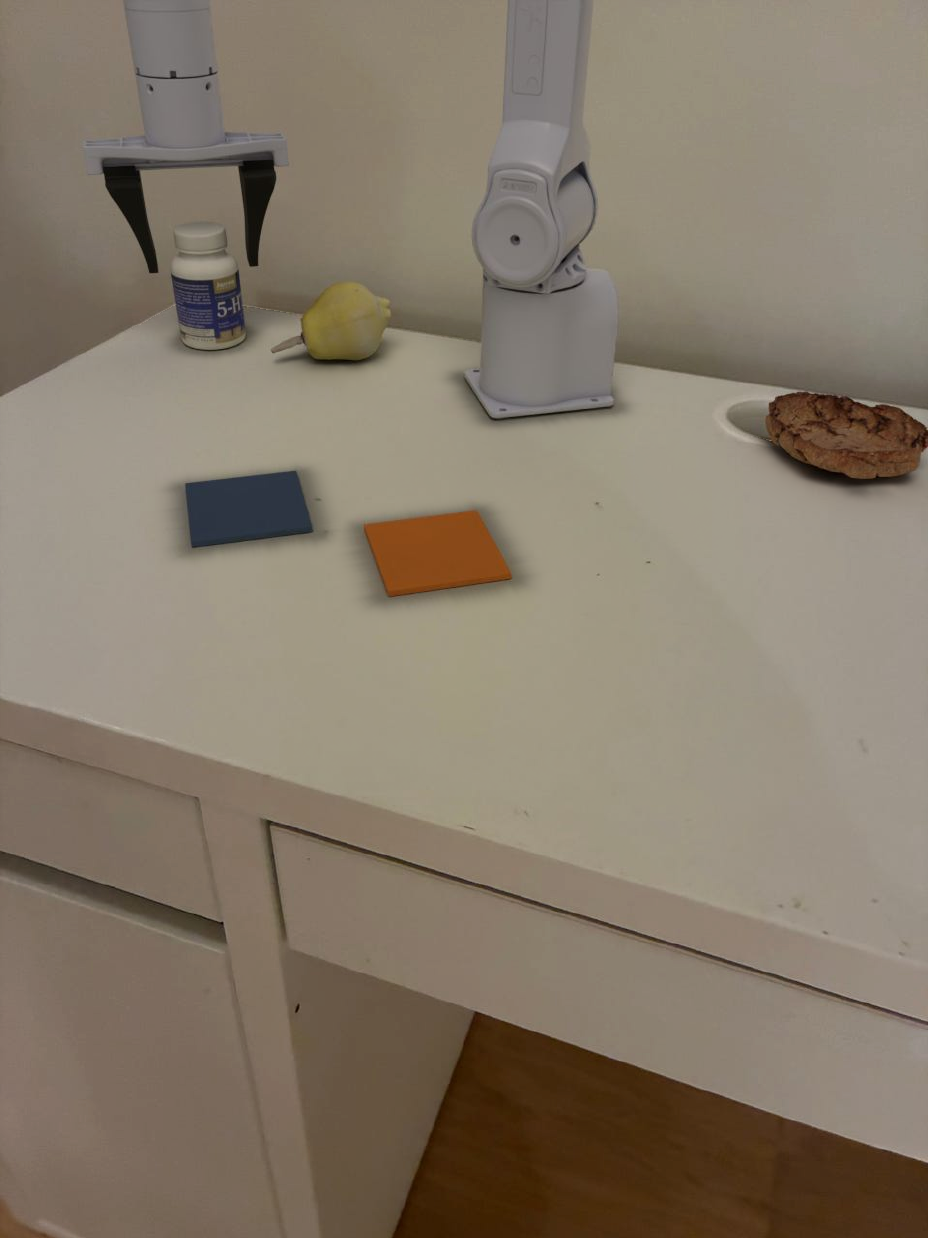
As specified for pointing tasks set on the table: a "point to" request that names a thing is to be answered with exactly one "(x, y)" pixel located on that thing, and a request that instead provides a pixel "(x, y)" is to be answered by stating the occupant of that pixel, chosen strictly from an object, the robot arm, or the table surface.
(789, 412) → the cookie
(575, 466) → the table surface
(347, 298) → the fruit
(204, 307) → the pill bottle
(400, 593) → the amber mat
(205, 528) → the blue mat
